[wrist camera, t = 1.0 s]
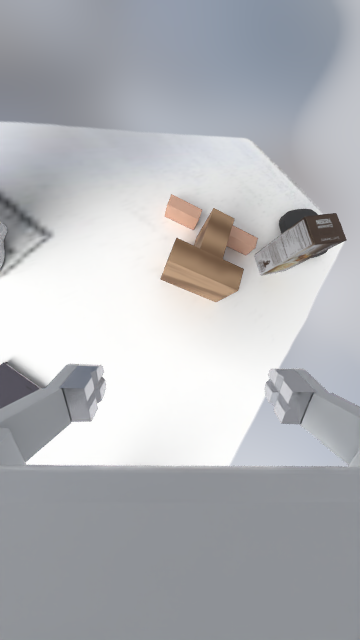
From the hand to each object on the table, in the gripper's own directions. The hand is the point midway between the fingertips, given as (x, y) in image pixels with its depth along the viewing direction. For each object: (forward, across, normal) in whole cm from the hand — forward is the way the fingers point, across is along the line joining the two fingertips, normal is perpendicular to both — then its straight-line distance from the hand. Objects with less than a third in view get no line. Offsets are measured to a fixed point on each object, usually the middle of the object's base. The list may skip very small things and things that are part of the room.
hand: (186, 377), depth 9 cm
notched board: (+46, -8, -9) cm, 48 cm away
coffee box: (+47, -26, -2) cm, 53 cm away
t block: (+41, -5, -1) cm, 41 cm away
